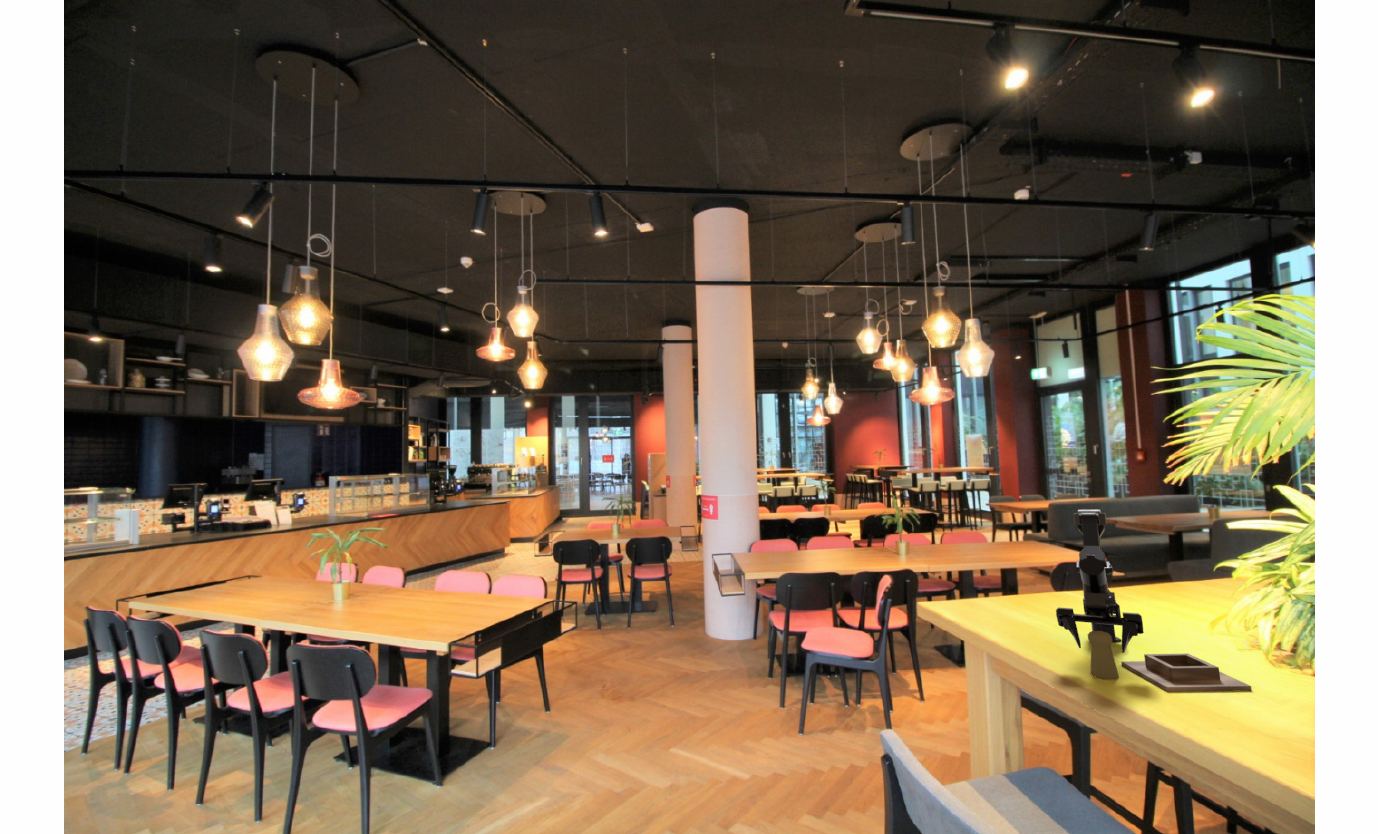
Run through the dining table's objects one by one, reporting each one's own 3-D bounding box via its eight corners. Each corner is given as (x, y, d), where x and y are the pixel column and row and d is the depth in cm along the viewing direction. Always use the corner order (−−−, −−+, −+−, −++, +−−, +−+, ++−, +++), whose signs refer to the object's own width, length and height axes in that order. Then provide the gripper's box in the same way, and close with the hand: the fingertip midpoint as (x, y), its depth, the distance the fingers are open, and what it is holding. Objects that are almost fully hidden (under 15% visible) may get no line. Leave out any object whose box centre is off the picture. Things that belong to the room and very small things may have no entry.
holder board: (1121, 665, 155) (1119, 649, 155) (1195, 663, 153) (1193, 648, 153) (1167, 691, 137) (1165, 674, 138) (1251, 690, 135) (1249, 672, 135)
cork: (1123, 679, 146) (1118, 635, 147) (1097, 679, 147) (1091, 635, 148) (1111, 671, 151) (1106, 628, 152) (1086, 671, 153) (1080, 628, 154)
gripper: (1052, 577, 160) (1054, 628, 150) (1137, 581, 149) (1145, 637, 139) (1057, 600, 166) (1060, 651, 156) (1139, 606, 155) (1147, 661, 145)
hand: (1101, 649), depth 149 cm, fingers open, 9 cm apart
